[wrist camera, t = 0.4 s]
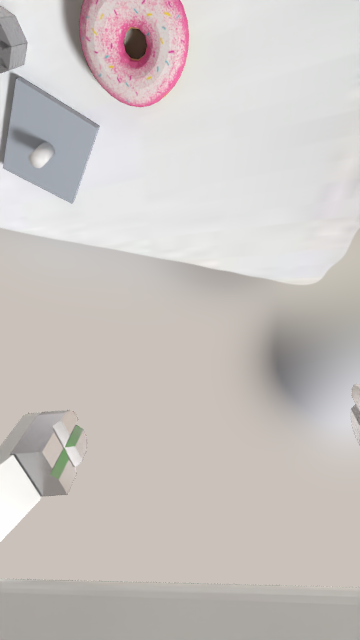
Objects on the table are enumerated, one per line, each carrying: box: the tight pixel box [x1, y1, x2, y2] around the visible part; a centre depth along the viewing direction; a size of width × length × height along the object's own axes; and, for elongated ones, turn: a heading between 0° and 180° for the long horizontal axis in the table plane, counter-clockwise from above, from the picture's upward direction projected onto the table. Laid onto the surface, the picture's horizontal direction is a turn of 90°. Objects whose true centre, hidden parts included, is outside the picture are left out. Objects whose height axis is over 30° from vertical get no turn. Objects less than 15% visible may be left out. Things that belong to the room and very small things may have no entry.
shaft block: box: [3, 77, 100, 204], centre depth 48 cm, size 14×12×6 cm
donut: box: [79, 0, 189, 107], centre depth 39 cm, size 14×13×5 cm
